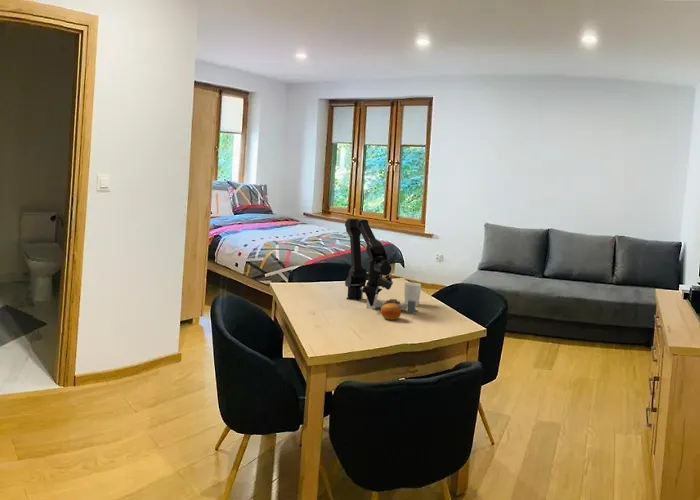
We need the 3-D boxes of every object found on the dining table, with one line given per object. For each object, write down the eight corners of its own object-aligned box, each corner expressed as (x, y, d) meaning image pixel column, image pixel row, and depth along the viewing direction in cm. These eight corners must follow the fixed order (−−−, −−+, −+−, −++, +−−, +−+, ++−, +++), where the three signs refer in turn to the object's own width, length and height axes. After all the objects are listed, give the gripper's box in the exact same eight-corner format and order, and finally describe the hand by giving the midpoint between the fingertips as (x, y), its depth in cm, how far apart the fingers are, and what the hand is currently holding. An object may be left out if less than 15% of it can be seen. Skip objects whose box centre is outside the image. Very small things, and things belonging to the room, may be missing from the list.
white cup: (419, 306, 292) (420, 286, 291) (402, 305, 294) (403, 284, 292) (420, 303, 300) (421, 283, 299) (404, 302, 301) (405, 281, 300)
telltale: (407, 312, 280) (407, 301, 279) (408, 311, 283) (409, 300, 282) (413, 313, 279) (414, 302, 278) (415, 311, 282) (415, 301, 281)
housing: (383, 310, 281) (384, 301, 280) (387, 307, 287) (387, 298, 287) (415, 314, 277) (415, 304, 276) (418, 311, 283) (418, 301, 283)
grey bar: (366, 307, 285) (367, 295, 284) (368, 306, 288) (369, 293, 288) (404, 312, 280) (405, 299, 279) (406, 310, 283) (407, 297, 283)
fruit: (387, 307, 273) (389, 294, 267) (403, 316, 269) (405, 304, 264) (376, 318, 268) (378, 305, 262) (392, 328, 264) (394, 315, 259)
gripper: (387, 276, 273) (385, 311, 275) (396, 270, 290) (394, 303, 292) (362, 274, 276) (361, 308, 278) (373, 268, 293) (371, 300, 295)
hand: (372, 305), depth 286 cm, fingers closed on grey bar, 4 cm apart
